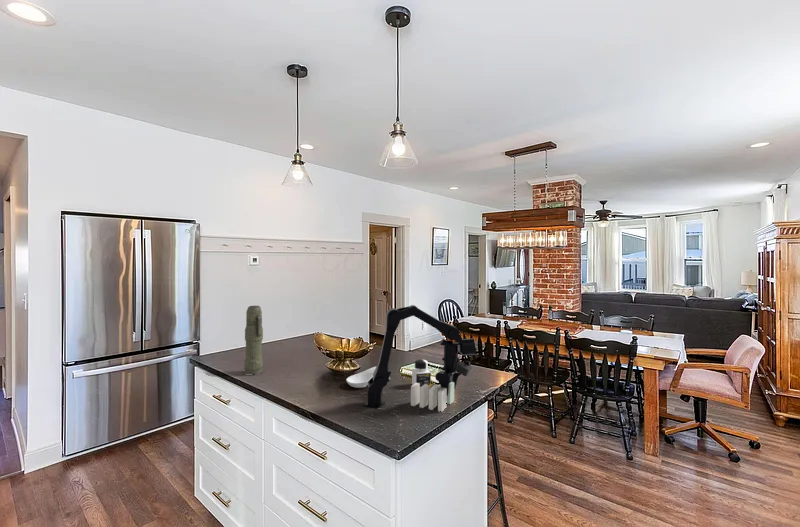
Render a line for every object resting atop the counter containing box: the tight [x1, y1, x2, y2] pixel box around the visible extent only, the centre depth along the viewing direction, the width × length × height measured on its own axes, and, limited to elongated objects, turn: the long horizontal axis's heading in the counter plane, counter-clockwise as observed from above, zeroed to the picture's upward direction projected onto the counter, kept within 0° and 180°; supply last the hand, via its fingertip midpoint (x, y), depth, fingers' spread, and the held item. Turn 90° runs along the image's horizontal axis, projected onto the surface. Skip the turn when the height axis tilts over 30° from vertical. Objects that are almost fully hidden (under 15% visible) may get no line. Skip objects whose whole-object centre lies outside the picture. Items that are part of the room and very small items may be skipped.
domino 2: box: [419, 384, 429, 409], centre depth 157 cm, size 2×5×8 cm, turn 152°
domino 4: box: [437, 388, 447, 413], centre depth 153 cm, size 2×5×8 cm, turn 152°
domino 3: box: [428, 385, 438, 411], centre depth 155 cm, size 2×5×8 cm, turn 152°
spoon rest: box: [345, 366, 391, 389], centre depth 186 cm, size 24×12×7 cm, turn 134°
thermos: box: [243, 305, 264, 374], centre depth 201 cm, size 9×12×35 cm
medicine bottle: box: [411, 359, 432, 388], centre depth 183 cm, size 7×7×12 cm
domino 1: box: [410, 383, 420, 407], centre depth 159 cm, size 2×5×8 cm, turn 152°
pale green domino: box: [446, 382, 455, 405], centre depth 161 cm, size 2×5×8 cm, turn 152°
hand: (450, 392), depth 161 cm, fingers open, 8 cm apart
